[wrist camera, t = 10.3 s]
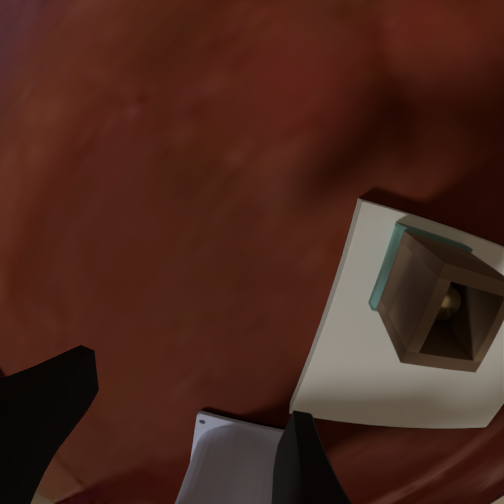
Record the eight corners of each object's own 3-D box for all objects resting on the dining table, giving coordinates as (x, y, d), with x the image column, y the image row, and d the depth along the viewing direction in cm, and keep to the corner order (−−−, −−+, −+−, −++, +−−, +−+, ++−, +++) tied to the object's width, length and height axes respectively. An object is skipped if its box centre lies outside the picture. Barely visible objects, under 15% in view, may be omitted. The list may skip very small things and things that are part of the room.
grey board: (481, 418, 20) (485, 427, 19) (289, 402, 21) (289, 413, 20) (560, 270, 15) (569, 276, 14) (358, 198, 17) (362, 201, 15)
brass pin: (425, 289, 16) (452, 322, 13) (402, 283, 16) (426, 317, 13) (434, 264, 16) (465, 292, 12) (412, 257, 16) (439, 285, 12)
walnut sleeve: (435, 317, 17) (476, 376, 11) (368, 302, 17) (394, 366, 11) (464, 244, 15) (522, 283, 10) (395, 221, 15) (442, 256, 10)
